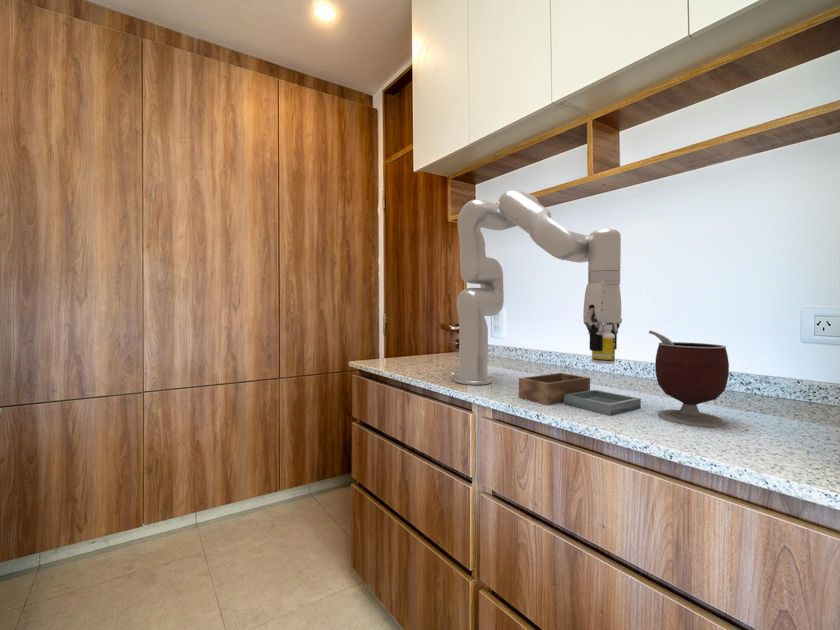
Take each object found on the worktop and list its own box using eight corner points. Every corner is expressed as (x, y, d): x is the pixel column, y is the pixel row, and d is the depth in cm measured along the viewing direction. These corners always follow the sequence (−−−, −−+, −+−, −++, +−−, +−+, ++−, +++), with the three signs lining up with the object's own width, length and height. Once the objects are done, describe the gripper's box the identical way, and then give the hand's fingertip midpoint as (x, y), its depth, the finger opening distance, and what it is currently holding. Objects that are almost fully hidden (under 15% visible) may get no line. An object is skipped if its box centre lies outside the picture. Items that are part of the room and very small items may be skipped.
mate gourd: (729, 418, 94) (731, 332, 93) (725, 432, 83) (727, 334, 83) (653, 407, 104) (654, 329, 103) (640, 418, 93) (642, 331, 93)
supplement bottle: (617, 364, 101) (617, 325, 101) (594, 363, 102) (594, 324, 102) (611, 361, 106) (612, 324, 106) (589, 361, 107) (589, 324, 107)
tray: (563, 404, 106) (564, 394, 106) (593, 398, 113) (593, 389, 113) (610, 415, 95) (611, 404, 95) (640, 408, 102) (640, 398, 102)
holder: (518, 397, 113) (519, 378, 113) (560, 390, 123) (560, 372, 123) (547, 405, 105) (548, 384, 105) (589, 397, 115) (590, 377, 115)
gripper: (609, 281, 111) (608, 347, 112) (570, 278, 102) (569, 350, 102) (636, 279, 105) (635, 349, 105) (597, 276, 96) (596, 353, 96)
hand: (603, 349), depth 104 cm, fingers closed on supplement bottle, 5 cm apart
